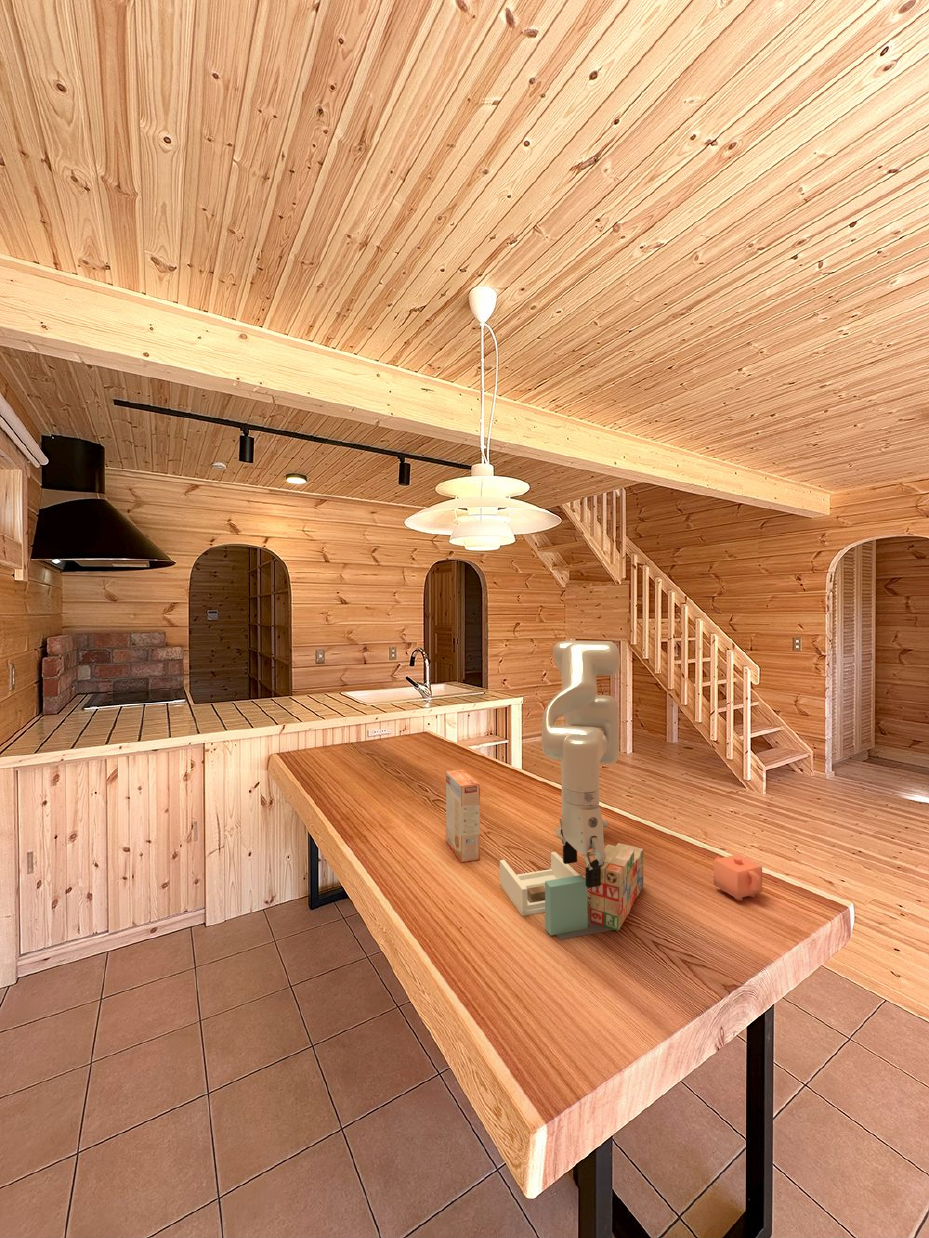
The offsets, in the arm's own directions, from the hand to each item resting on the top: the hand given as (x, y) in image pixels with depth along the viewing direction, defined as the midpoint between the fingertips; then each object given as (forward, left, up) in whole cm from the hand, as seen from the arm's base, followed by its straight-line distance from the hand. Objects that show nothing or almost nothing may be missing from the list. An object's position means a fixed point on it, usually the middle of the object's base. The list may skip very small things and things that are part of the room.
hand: (581, 873), depth 110 cm
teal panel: (0, +1, -6) cm, 5 cm away
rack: (+3, -13, -11) cm, 18 cm away
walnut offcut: (+6, -10, -10) cm, 15 cm away
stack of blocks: (-12, -4, -11) cm, 17 cm away
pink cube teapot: (-42, -1, -11) cm, 43 cm away
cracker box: (+14, -40, -11) cm, 44 cm away
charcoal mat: (0, +1, -11) cm, 11 cm away
